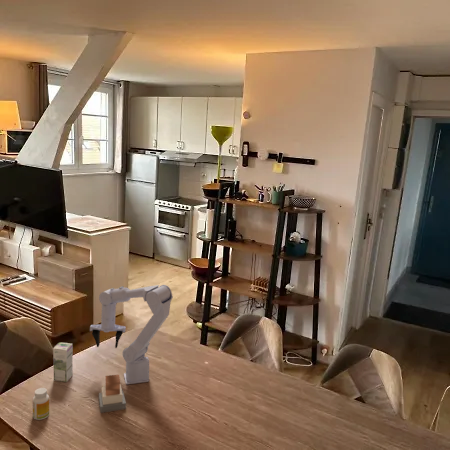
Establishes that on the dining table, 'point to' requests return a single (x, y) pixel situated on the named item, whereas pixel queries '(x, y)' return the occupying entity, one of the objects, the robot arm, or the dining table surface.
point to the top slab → (111, 397)
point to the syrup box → (63, 361)
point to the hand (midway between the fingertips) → (107, 346)
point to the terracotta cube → (112, 385)
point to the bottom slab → (112, 405)
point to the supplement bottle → (40, 404)
